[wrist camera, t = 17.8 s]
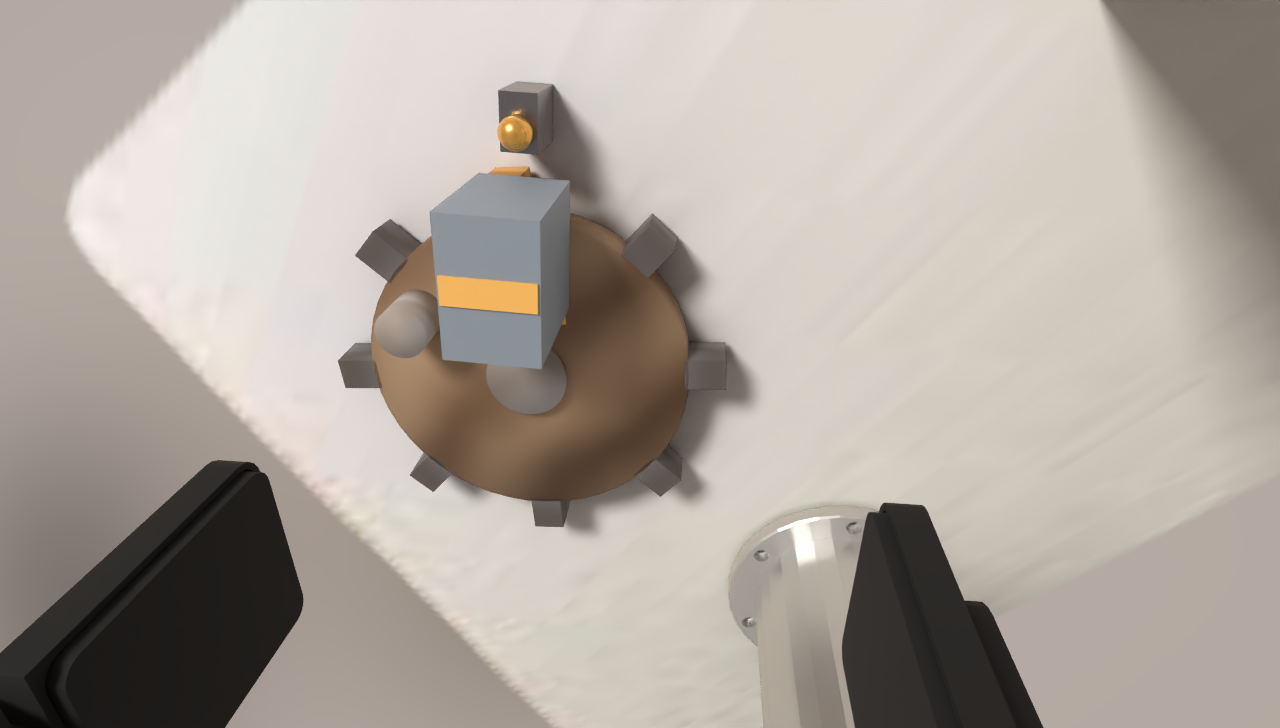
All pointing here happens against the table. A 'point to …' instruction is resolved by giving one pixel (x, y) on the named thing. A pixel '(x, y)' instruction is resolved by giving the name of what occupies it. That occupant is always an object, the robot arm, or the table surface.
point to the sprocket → (542, 374)
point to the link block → (502, 269)
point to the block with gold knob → (525, 117)
